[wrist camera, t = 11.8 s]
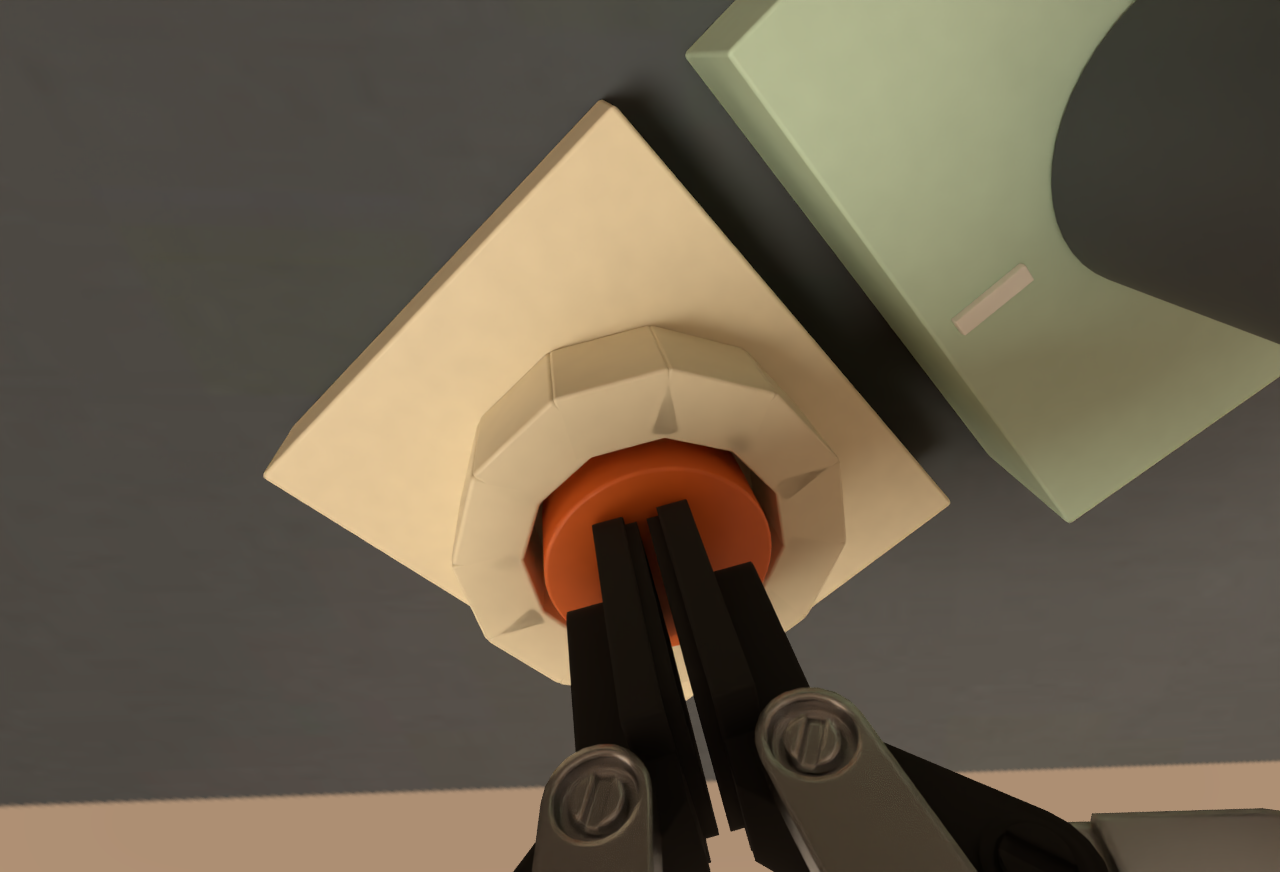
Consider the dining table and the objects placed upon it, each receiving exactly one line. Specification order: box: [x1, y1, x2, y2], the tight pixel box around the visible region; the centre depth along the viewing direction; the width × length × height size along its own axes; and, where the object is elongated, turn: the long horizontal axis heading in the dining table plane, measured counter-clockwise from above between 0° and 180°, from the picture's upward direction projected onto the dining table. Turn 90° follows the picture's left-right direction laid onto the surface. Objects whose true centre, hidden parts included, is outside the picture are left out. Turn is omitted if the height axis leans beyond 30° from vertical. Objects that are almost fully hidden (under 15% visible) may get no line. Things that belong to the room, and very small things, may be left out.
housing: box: [264, 100, 950, 700], centre depth 14 cm, size 11×9×4 cm
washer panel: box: [685, 0, 1280, 523], centre depth 12 cm, size 12×10×3 cm
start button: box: [542, 438, 772, 647], centre depth 12 cm, size 4×4×2 cm
